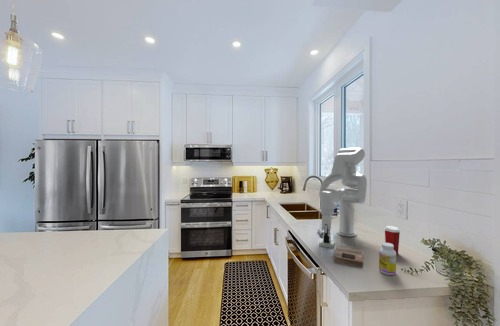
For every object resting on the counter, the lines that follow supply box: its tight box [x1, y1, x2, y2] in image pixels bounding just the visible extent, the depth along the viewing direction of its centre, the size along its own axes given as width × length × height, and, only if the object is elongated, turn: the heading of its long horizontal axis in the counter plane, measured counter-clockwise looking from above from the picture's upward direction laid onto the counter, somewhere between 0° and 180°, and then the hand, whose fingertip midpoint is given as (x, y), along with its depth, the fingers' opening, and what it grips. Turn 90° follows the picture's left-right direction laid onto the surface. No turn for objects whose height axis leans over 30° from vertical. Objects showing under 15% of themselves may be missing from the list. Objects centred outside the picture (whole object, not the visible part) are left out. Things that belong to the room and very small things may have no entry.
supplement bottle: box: [378, 242, 397, 276], centre depth 102 cm, size 7×7×13 cm
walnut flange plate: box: [333, 245, 364, 268], centre depth 116 cm, size 16×13×3 cm
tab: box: [318, 237, 335, 249], centre depth 135 cm, size 8×8×2 cm
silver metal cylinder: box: [322, 232, 332, 243], centre depth 135 cm, size 4×4×5 cm
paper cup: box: [383, 225, 401, 256], centre depth 123 cm, size 8×8×14 cm
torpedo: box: [317, 223, 324, 239], centre depth 152 cm, size 18×5×7 cm, turn 177°
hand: (326, 240), depth 135 cm, fingers open, 5 cm apart
